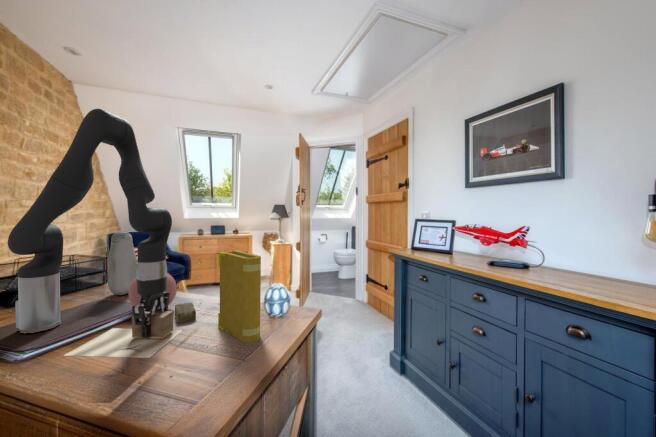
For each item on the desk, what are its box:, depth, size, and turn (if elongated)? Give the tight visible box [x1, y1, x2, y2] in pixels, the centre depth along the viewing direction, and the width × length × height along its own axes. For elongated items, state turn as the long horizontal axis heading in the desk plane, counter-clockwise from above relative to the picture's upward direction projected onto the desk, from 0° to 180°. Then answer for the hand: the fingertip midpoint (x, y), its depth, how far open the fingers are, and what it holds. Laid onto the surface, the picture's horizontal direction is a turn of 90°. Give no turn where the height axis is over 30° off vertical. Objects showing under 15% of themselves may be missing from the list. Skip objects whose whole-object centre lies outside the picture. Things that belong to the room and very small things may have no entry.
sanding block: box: [131, 310, 174, 338], centre depth 83 cm, size 9×5×6 cm, turn 89°
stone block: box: [174, 302, 197, 324], centre depth 97 cm, size 6×12×5 cm, turn 33°
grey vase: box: [106, 230, 138, 296], centre depth 124 cm, size 10×10×28 cm
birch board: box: [63, 327, 184, 359], centre depth 79 cm, size 22×16×2 cm
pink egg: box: [127, 272, 178, 308], centre depth 107 cm, size 15×20×15 cm
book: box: [217, 249, 262, 343], centre depth 89 cm, size 17×7×25 cm, turn 47°
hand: (152, 332), depth 83 cm, fingers closed on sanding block, 5 cm apart
